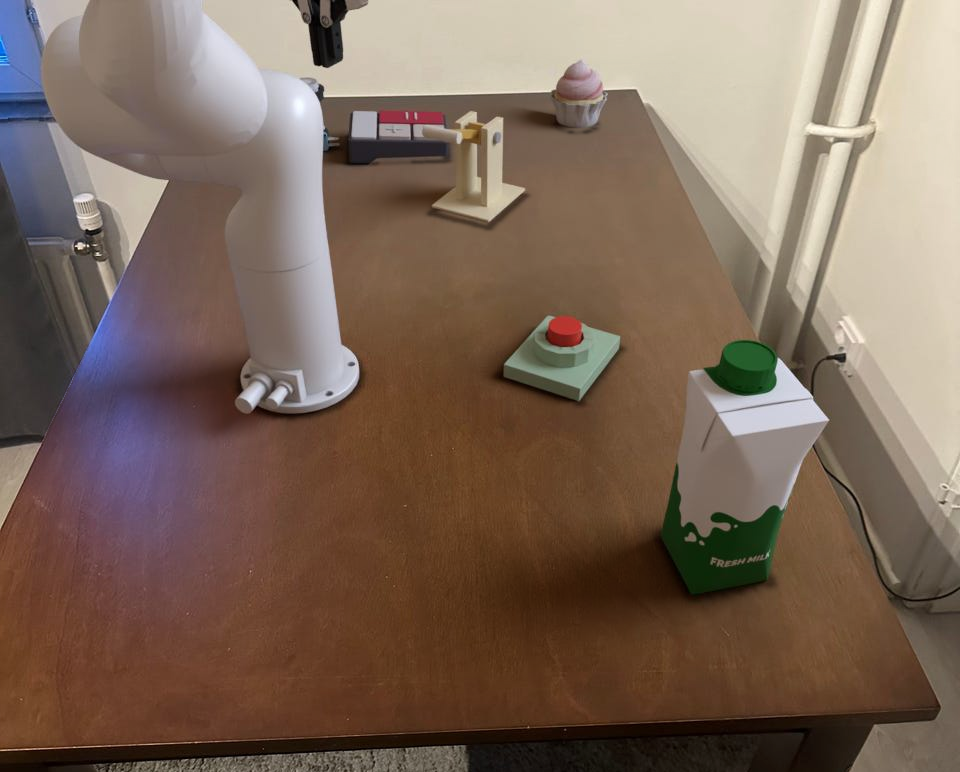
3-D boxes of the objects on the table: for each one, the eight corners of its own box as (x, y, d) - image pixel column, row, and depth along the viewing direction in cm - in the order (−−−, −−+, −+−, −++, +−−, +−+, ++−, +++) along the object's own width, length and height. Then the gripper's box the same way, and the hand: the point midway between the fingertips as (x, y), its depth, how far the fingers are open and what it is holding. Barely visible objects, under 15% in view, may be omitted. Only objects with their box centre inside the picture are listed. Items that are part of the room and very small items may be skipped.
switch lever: (455, 148, 110) (458, 128, 108) (420, 140, 111) (423, 120, 110) (498, 146, 120) (501, 127, 118) (466, 139, 121) (468, 120, 120)
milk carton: (736, 514, 82) (789, 329, 68) (782, 588, 75) (852, 401, 61) (646, 530, 80) (681, 344, 66) (686, 607, 74) (734, 420, 60)
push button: (341, 141, 141) (334, 75, 134) (337, 155, 137) (329, 88, 130) (299, 141, 141) (290, 75, 134) (294, 155, 137) (284, 88, 130)
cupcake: (612, 118, 148) (618, 54, 141) (595, 139, 142) (601, 73, 135) (558, 110, 150) (562, 46, 143) (540, 131, 144) (543, 65, 137)
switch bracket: (488, 228, 121) (489, 141, 112) (431, 213, 124) (428, 127, 116) (525, 196, 128) (528, 112, 119) (470, 182, 131) (469, 99, 122)
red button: (572, 352, 95) (573, 338, 93) (541, 342, 96) (542, 329, 95) (586, 335, 97) (587, 321, 96) (556, 326, 98) (557, 312, 97)
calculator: (448, 137, 133) (347, 134, 132) (448, 165, 136) (349, 163, 135) (445, 109, 141) (350, 106, 140) (444, 136, 144) (351, 134, 143)
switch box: (578, 401, 94) (581, 374, 91) (503, 377, 97) (503, 350, 94) (619, 348, 100) (622, 322, 98) (547, 327, 104) (548, 301, 101)
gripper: (214, -149, 82) (250, 62, 95) (348, -135, 77) (367, 87, 90) (266, -161, 87) (293, 41, 100) (395, -148, 82) (407, 64, 94)
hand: (328, 62), depth 95 cm, fingers closed
